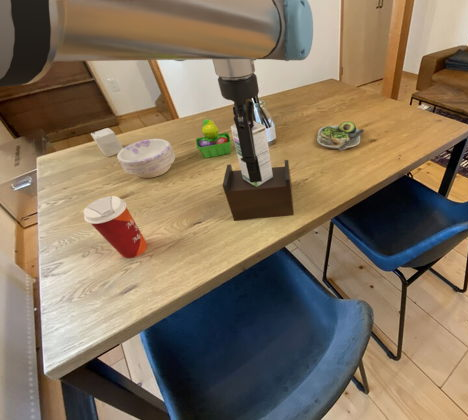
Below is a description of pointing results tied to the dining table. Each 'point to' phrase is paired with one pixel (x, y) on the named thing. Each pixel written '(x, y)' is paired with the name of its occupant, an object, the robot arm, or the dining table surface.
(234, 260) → the dining table surface
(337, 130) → the salad plate
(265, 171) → the syrup box
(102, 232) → the paper cup
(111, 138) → the product carton
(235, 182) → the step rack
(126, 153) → the paper bowls
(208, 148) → the fruit basket
